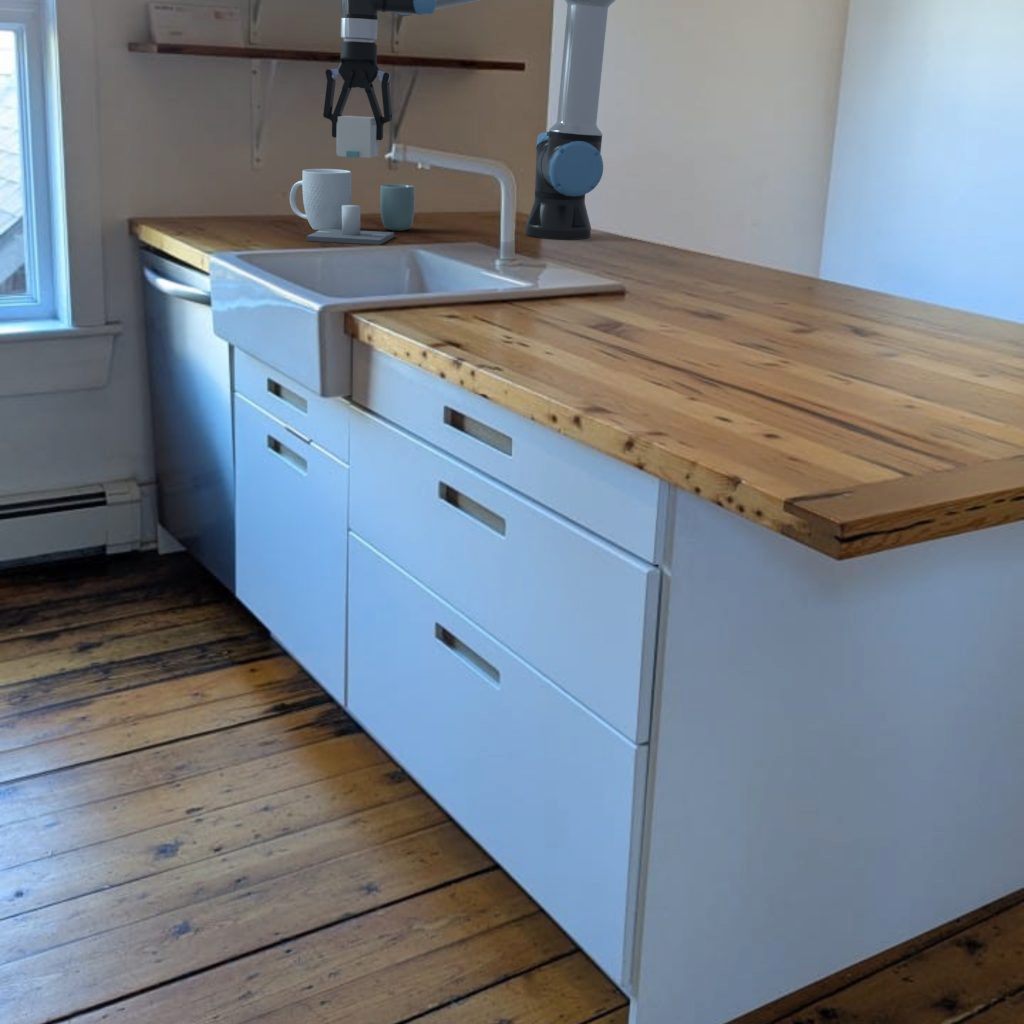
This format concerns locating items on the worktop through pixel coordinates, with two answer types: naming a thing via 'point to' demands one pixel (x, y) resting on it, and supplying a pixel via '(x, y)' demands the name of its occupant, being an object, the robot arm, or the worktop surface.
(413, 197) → the cup
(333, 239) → the post plate
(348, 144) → the grey cube
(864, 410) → the worktop surface
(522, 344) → the worktop surface
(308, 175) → the mug
